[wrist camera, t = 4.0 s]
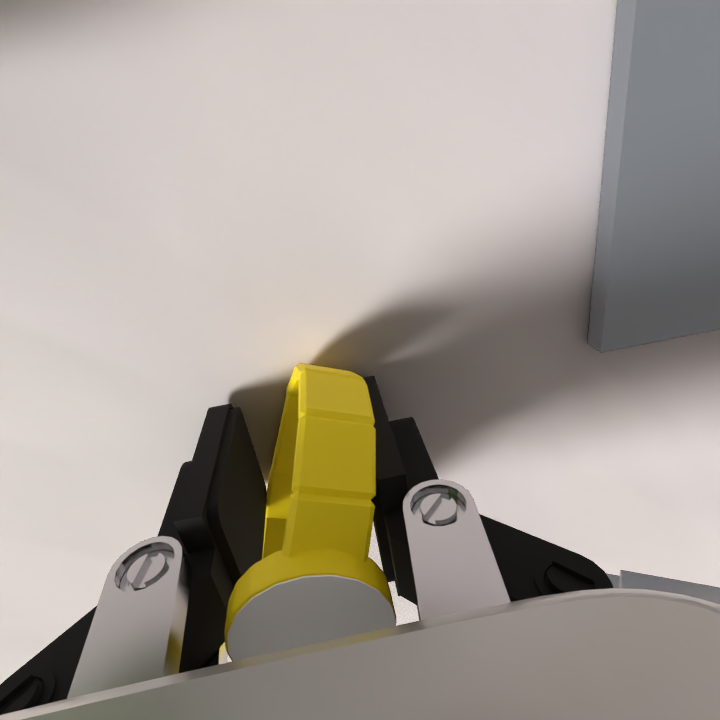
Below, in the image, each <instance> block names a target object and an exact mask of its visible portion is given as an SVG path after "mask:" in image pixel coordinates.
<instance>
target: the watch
mask: <svg viewBox="0 0 720 720" xmlns="http://www.w3.org/2000/svg"><path fill="white" fill-rule="evenodd" d="M286 392H287V394H286V399H285V403H284V408H283V413H282V418H281V422H280V427H279V432H278V437H277V441H276V446H275V451H274V456H273V460H272V465H271V470H270V475H269V481H268V488H267V497H266V498H267V503H266V516H265V529H264V542H263V555H262V560H260V561H259V562H257V563H255V564H254V565H252V566H251V567H250V568H249V569H248V570H247V571H246V572H245V574H244V575H243V576H242V577H241V578H240V579H239V580H238V581H237V582H236V584H235V587H234V589H233V591H232V594H231V596H230V598H229V601H228V608H227V616H226V623H225V630H224V634H225V648H226V651H227V653H228V655H229V657H230V658H231V660H232V662H233V661H237V660H242V659H246V658H251V657H255V656H260V655H264V654H269V653H274V652H278V651H283V650H287V649H292V648H296V647H301V646H305V645H310V644H315V643H319V642H324V641H328V640H333V639H337V638H342V637H346V636H351V635H356V634H360V633H365V632H370V631H374V630H379V629H384V628H388V627H393V626H396V614H395V610H394V605H393V601H392V596H391V592H390V588H389V585H388V581H387V578H386V576H385V574H384V572H383V571H382V570H381V569H380V568H379V567H378V565H377V564H376V563H375V562H374V561H373V560H372V559H370V558H369V557H368V553H369V546H370V538H371V531H372V524H373V516H374V509H375V505H374V504H373V503H372V501H371V499H372V498H373V497H374V496H375V495H376V429H375V428H374V427H373V426H374V423H375V419H374V415H373V410H372V405H371V401H370V396H369V392H368V387H367V384H366V382H365V380H364V379H363V378H362V377H361V376H359V375H357V374H355V373H353V372H352V371H346V370H340V369H334V368H328V367H322V366H316V365H310V364H304V363H300V364H298V365H297V366H296V367H295V368H294V371H293V373H292V376H291V378H290V381H289V384H288V385H287V389H286Z"/></svg>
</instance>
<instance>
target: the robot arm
mask: <svg viewBox="0 0 720 720" xmlns="http://www.w3.org/2000/svg"><path fill="white" fill-rule="evenodd" d="M363 379H364V380H365V382H366V384H367V387H368V392H369V396H370V401H371V405H372V410H373V415H374V419H375V423H374V426H373V427H374V428H375V429H376V495H375V496H374V497H373V498H372V499H371V501H372V503H373V504H374V505H375V509H374V516H373V522H374V527H375V532H376V537H377V542H378V547H379V552H380V557H381V562H382V566H383V571H384V574H385V576H386V578H387V581H388V582H391V581H395V584H396V588H397V593H398V596H402V597H404V598H406V599H407V600H409V601H411V602H412V603H414V604H416V605H417V610H418V616H419V621H416V622H412V623H407V624H402V625H398V626H393V627H388V628H384V629H379V630H374V631H370V632H365V633H360V634H356V635H351V636H346V637H342V638H337V639H333V640H328V641H324V642H319V643H315V644H310V645H305V646H301V647H296V648H292V649H287V650H283V651H278V652H274V653H269V654H264V655H260V656H255V657H251V658H246V659H242V660H237V661H233V662H228V663H227V658H228V653H227V651H226V648H225V634H224V630H225V623H226V616H227V608H228V601H229V598H230V596H231V594H232V591H233V589H234V587H235V584H236V582H237V581H238V580H239V579H240V578H241V577H242V576H243V575H244V574H245V572H246V571H247V570H248V569H249V568H250V567H251V566H252V565H254V564H255V563H257V562H259V561H260V560H262V555H263V542H264V529H265V516H266V503H267V498H266V497H267V491H266V486H265V482H264V479H263V476H262V473H261V470H260V466H259V463H258V460H257V457H256V454H255V451H254V448H253V445H252V442H251V438H250V435H249V432H248V429H247V426H246V423H245V420H244V417H243V414H242V411H241V409H240V408H233V406H232V405H231V404H226V405H221V406H216V407H211V408H209V409H208V411H207V415H206V418H205V421H204V424H203V427H202V431H201V434H200V437H199V440H198V443H197V447H196V450H195V453H194V456H193V459H192V461H189V462H185V463H183V465H182V467H181V469H180V472H179V475H178V478H177V481H176V484H175V487H174V489H173V492H172V495H171V498H170V501H169V504H168V507H167V510H166V513H165V516H164V519H163V522H162V525H161V528H160V531H159V534H158V537H152V538H149V539H147V540H144V541H141V542H140V543H138V544H136V545H134V546H133V547H131V548H129V549H128V550H127V551H126V552H125V553H124V554H122V555H121V556H120V557H119V558H118V559H117V561H116V562H115V563H114V564H113V566H112V567H111V569H110V571H109V573H108V575H107V578H106V581H105V584H104V587H103V590H102V593H101V596H100V599H99V602H98V605H97V606H96V607H95V608H94V609H92V610H91V611H90V612H89V613H87V614H86V615H85V616H84V617H82V618H81V619H80V620H79V621H78V622H76V623H75V624H74V625H73V626H71V627H70V628H69V629H68V630H66V631H65V632H64V633H63V634H62V635H60V636H59V637H58V638H57V639H55V640H54V641H53V642H52V643H50V644H49V645H48V646H47V647H46V648H44V649H43V650H42V651H41V652H39V653H38V654H37V655H36V656H35V657H33V658H32V659H31V660H30V661H28V662H27V663H26V664H25V665H23V666H22V667H21V668H20V669H19V670H17V671H16V672H15V673H14V674H12V675H11V676H10V677H9V678H7V679H6V680H5V681H4V682H3V683H2V684H1V685H0V720H720V588H719V587H714V586H708V585H702V584H697V583H691V582H686V581H680V580H674V579H669V578H663V577H658V576H652V575H646V574H641V573H635V572H630V571H624V570H620V576H617V575H612V574H606V573H605V572H604V571H603V570H602V569H601V568H600V567H599V566H598V565H596V564H595V563H594V562H593V561H591V560H589V559H587V558H585V557H583V556H582V555H579V554H577V553H575V552H572V551H570V550H567V549H565V548H562V547H560V546H557V545H555V544H552V543H550V542H547V541H545V540H542V539H540V538H537V537H535V536H532V535H530V534H527V533H525V532H522V531H520V530H517V529H515V528H513V527H510V526H508V525H505V524H503V523H500V522H498V521H495V520H493V519H490V518H488V517H485V516H483V515H480V514H479V513H478V510H477V507H476V505H475V502H474V499H473V497H472V496H471V494H470V492H469V491H468V490H466V489H465V488H464V487H463V486H462V485H459V484H457V483H455V482H453V481H448V480H442V479H441V480H439V479H438V476H437V474H436V472H435V469H434V467H433V464H432V462H431V459H430V457H429V455H428V452H427V450H426V447H425V445H424V443H423V440H422V438H421V435H420V433H419V430H418V428H417V426H416V423H415V421H414V419H413V418H412V417H409V418H404V419H399V420H394V421H389V420H388V417H387V414H386V411H385V408H384V405H383V402H382V399H381V396H380V393H379V390H378V387H377V384H376V380H375V377H374V376H370V377H365V378H363Z"/></svg>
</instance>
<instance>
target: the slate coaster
mask: <svg viewBox="0 0 720 720" xmlns="http://www.w3.org/2000/svg"><path fill="white" fill-rule="evenodd" d="M718 329H720V0H617V9H616V20H615V32H614V43H613V55H612V67H611V78H610V90H609V101H608V113H607V124H606V136H605V147H604V159H603V171H602V182H601V194H600V205H599V217H598V228H597V240H596V251H595V263H594V275H593V286H592V298H591V309H590V321H589V332H588V344H589V345H591V346H592V347H593V348H595V349H596V350H597V351H599V352H600V353H602V352H607V351H612V350H617V349H622V348H627V347H632V346H637V345H642V344H648V343H653V342H658V341H663V340H668V339H673V338H678V337H683V336H688V335H693V334H698V333H703V332H708V331H713V330H718Z"/></svg>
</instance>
